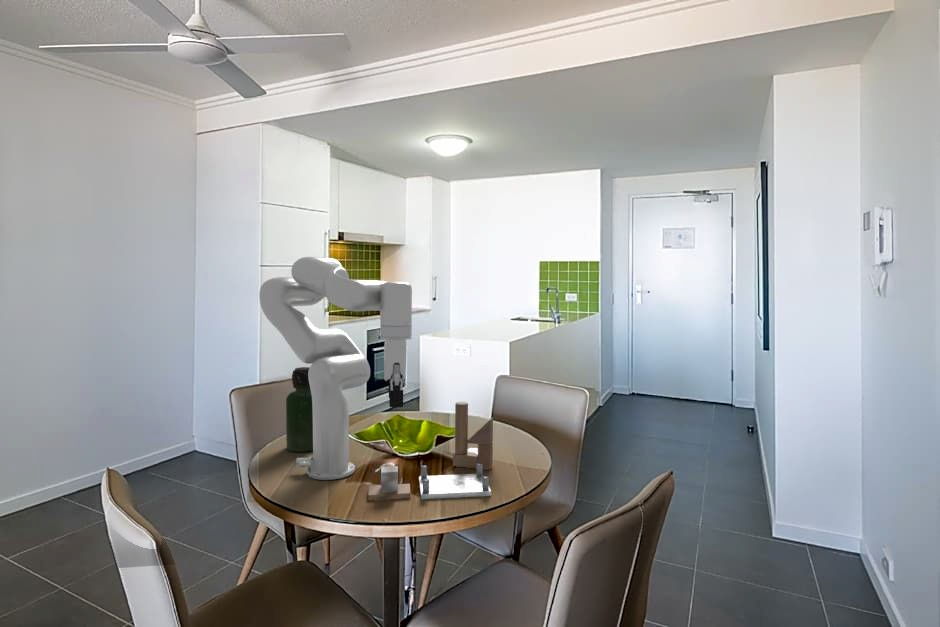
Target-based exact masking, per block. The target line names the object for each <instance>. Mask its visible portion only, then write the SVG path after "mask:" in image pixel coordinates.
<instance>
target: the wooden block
mask: <svg viewBox="0 0 940 627" xmlns="http://www.w3.org/2000/svg"><path fill="white" fill-rule="evenodd" d="M454 406H455V407H454V408H455V409H454V410H455V414H454V418H455V420H454V430H455V432H454V453H453V454H452V466H453V467H454V466H456V468H457V467H458V468H464V467H465V469H466V468H467V469H473V468H474V469H475V470H476V468H477V463H482V464H483V471H491V468H493V458H494V457H493V454H494V453H493V449H494V448H493V444H494V443H493V441H494V439H493V438H494V437H493V436H494V417H491V418H490V419H489V420H488V421H487V422H485V423H484V424H483V425H482V426H481V427H480V428H479V429H478V430H477V431H476V432H475V433H474V434H473V435H471V437H469V424H468V423H469V403H468V402H465V401H458V402H455V404H454ZM468 444H473V445H474V444H475V445H477V448H478V454H476V453H474V452H468V449H469V445H468Z"/></svg>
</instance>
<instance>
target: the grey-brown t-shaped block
mask: <svg viewBox="0 0 940 627" xmlns="http://www.w3.org/2000/svg"><path fill="white" fill-rule="evenodd" d="M380 470H381V471H380V484H377V485H376V484H375V485H369V488H368V494H367V496H368V497H367V500H368V501H379V500H378V499H385V500H399V499H401V500H402V499H403V498H406V499H411V484H410V483H399V466H396V465H394V466H393V465H390V466H381V469H380ZM375 499H377V500H375Z"/></svg>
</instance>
